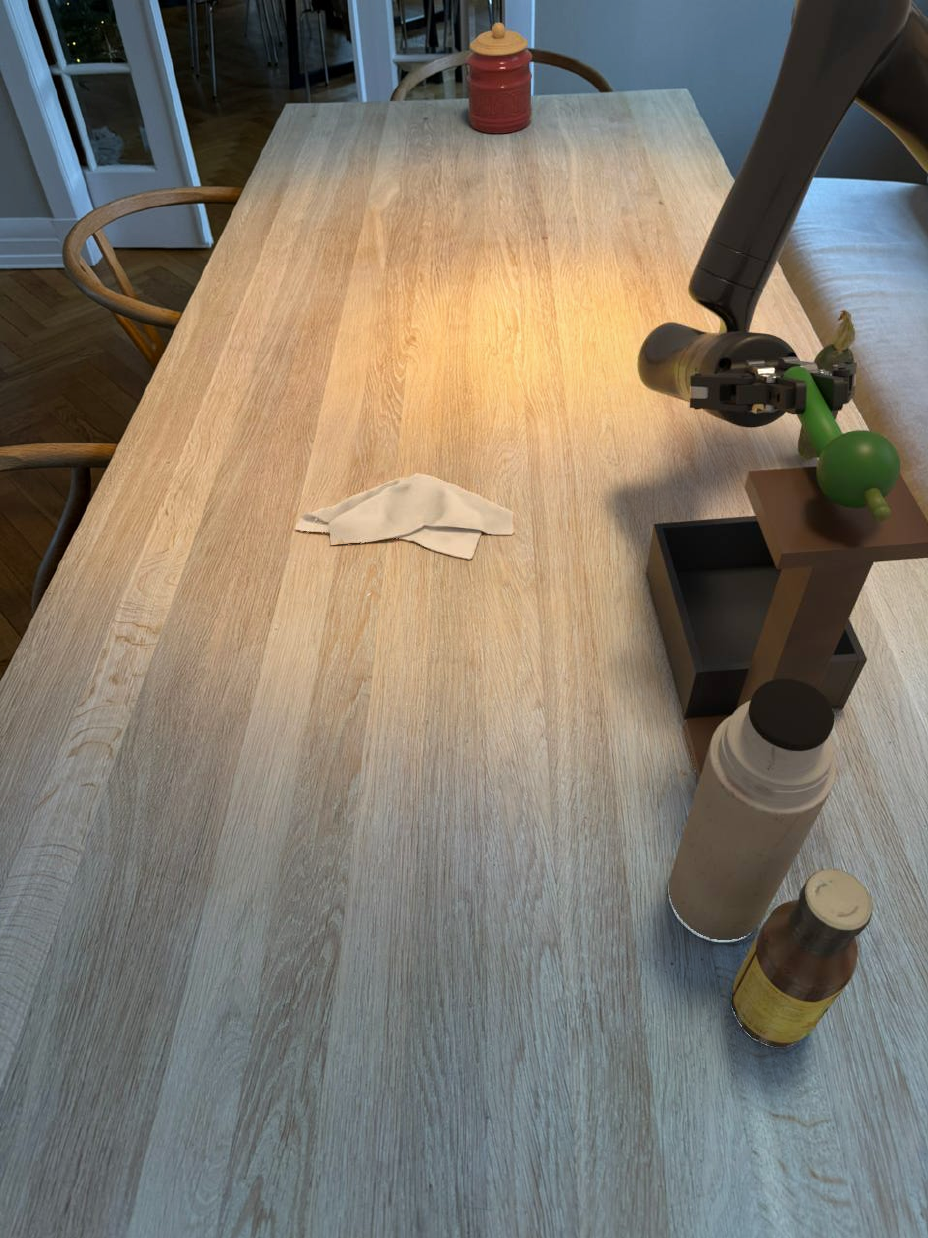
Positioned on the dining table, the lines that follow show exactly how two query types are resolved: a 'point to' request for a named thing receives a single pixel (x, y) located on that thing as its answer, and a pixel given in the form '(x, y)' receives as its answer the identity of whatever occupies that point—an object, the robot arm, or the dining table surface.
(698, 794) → the thermos bottle
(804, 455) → the vegetable
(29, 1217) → the dining table surface
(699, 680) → the open box
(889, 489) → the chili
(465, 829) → the dining table surface
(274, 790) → the dining table surface
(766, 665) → the shelf stand
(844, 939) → the sauce bottle
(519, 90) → the kitchen canister
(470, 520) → the cloth
